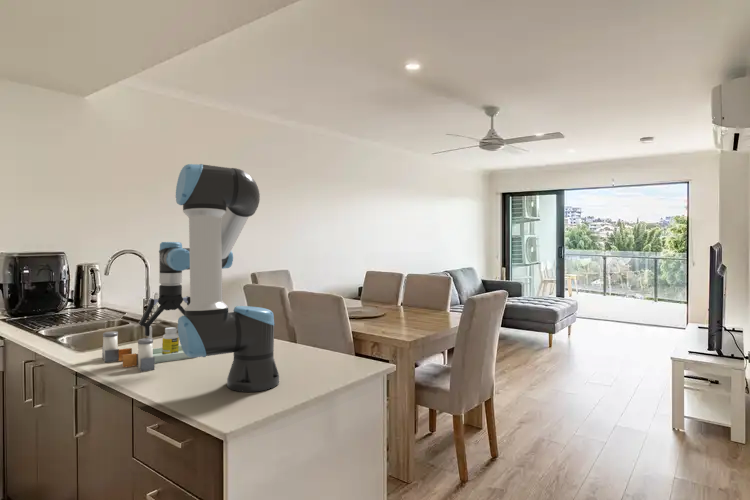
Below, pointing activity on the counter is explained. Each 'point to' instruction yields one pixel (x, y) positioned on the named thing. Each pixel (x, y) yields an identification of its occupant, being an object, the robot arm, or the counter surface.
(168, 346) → the supplement bottle
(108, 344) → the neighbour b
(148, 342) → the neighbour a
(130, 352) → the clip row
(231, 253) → the robot arm
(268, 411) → the counter surface
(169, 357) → the tray
